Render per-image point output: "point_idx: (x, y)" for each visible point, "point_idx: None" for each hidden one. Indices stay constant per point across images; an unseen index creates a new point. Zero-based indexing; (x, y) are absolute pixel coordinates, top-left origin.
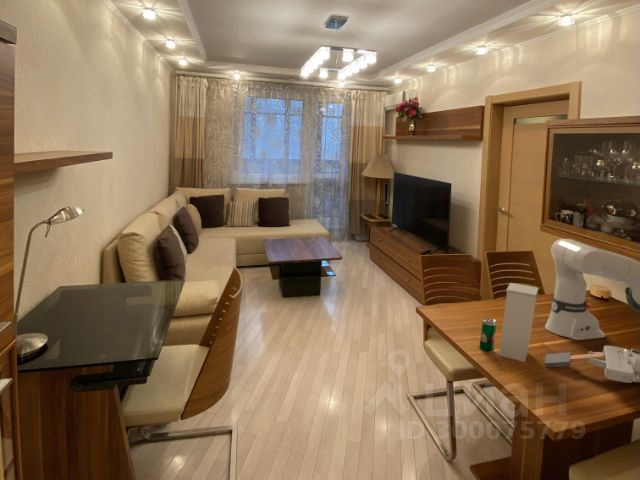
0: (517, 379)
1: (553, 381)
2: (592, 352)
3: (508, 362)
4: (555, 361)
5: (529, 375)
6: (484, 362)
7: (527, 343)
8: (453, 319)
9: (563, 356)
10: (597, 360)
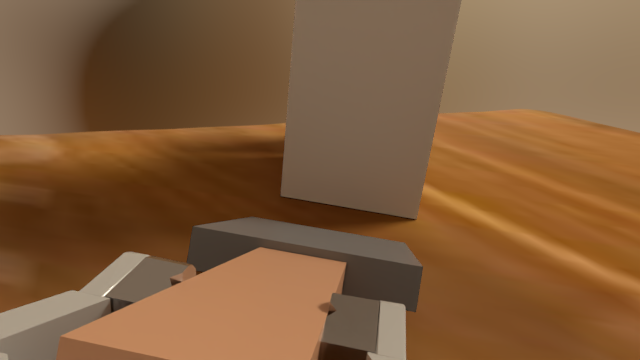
0: (90, 159)
1: (56, 241)
2: (377, 327)
3: (252, 164)
4: (253, 223)
5: (132, 187)
6: (225, 131)
7: (289, 85)
8: (535, 131)
9: (327, 242)
10: (24, 306)
